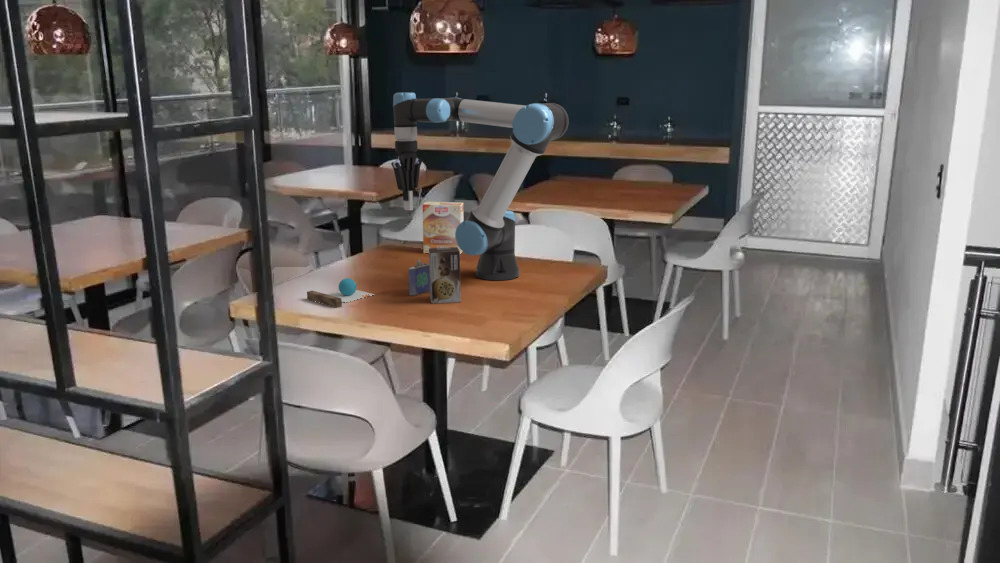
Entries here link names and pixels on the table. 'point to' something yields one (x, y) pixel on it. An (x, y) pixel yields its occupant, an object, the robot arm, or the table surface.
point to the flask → (419, 279)
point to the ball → (347, 286)
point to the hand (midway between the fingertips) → (408, 209)
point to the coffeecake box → (441, 224)
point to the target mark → (352, 297)
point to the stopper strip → (324, 298)
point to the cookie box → (444, 275)
